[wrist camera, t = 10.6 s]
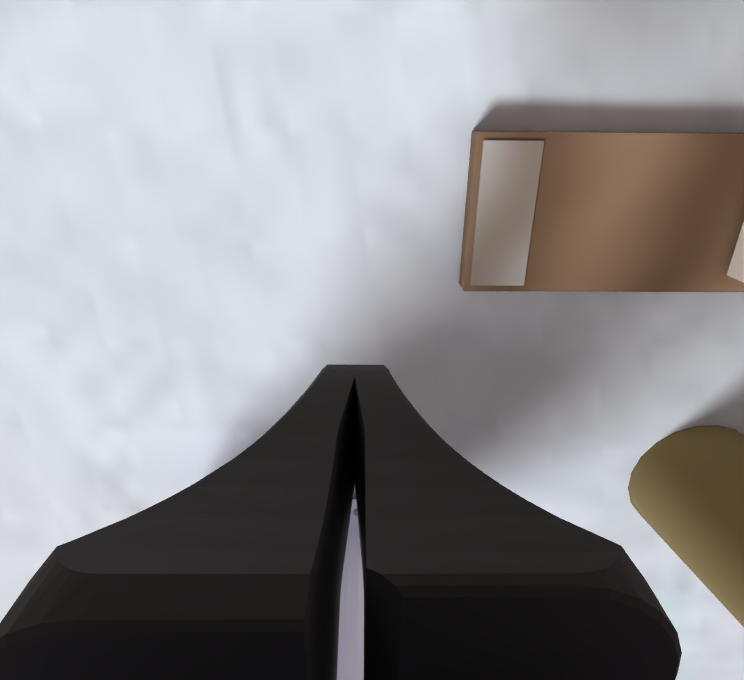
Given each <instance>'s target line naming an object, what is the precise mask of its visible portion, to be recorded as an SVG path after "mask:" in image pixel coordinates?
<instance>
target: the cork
mask: <svg viewBox="0 0 744 680" xmlns="http://www.w3.org/2000/svg"><path fill="white" fill-rule="evenodd" d="M628 490H629V495H630V500H631V503H632V505H633V506H634V507H635V509H636V510H637V511H638V513H639V514H640V515H641V516H642V517H643V518H644V519H645V520H646V522H647V523H648V524H649V525H650V526H651V527H652V528H653V529H654V530H655V531H656V532H657V534H658V535H659V536H660V537H661V538H662V539H663V540H664V541H665V542H666V543H667V544H668V545H669V547H670V548H671V549H672V550H673V551H674V552H675V553H676V554H677V555H678V556H679V557H680V558H681V560H682V561H683V562H684V563H685V564H686V565H687V566H688V567H689V568H690V569H691V570H692V572H693V573H694V574H695V575H696V576H697V577H698V578H699V579H700V580H701V581H702V582H703V583H704V585H705V586H706V587H707V588H708V589H709V590H710V591H711V592H712V593H713V594H714V595H715V596H716V598H717V599H718V600H719V601H720V602H721V603H722V604H723V605H724V606H725V607H726V608H727V609H728V611H729V612H730V613H731V614H732V615H733V616H734V617H735V618H736V619H737V620H738V621H739V623H740V624H741V625H742V626H743V627H744V435H742V434H741V433H739V432H738V431H736V430H733V429H729V428H725V427H721V426H697V427H693V428H690V429H686V430H683V431H680V432H676V433H674V434H672V435H670V436H669V437H667V438H665V439H663V440H661V441H660V442H658V443H656V444H655V445H654V446H653V447H652V448H651V449H650V450H649V451H647V452H646V453H645V454H644V455H643V456H642V457H641V458H640V460H639V462H638V463H637V465H636V466H635V468H634V470H633V471H632V473H631V478H630V482H629V487H628Z"/></svg>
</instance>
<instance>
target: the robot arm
mask: <svg viewBox="0 0 744 680" xmlns="http://www.w3.org/2000/svg"><path fill="white" fill-rule="evenodd" d="M354 485H355V491H356V499H353V493H354ZM355 509H357V510H355ZM681 654H682V652H681V648H680V643H679V638H678V634H677V631H676V630H675V628H674V626H673V625H672V623H671V621H670V620H669V618H668V616H667V615H666V613H665V611H664V610H663V608H662V606H661V605H660V603H659V601H658V599H657V598H656V596H655V594H654V593H653V591H652V590H651V588H650V586H649V585H648V583H647V582H646V580H645V578H644V577H643V576H642V574H641V573H640V572H639V570H638V569H637V567H636V566H635V565H634V563H633V562H632V561H631V559H630V558H629V556H628V555H627V554H626V552H625V551H624V549H623V548H622V546H620V545H618V544H616V543H614V542H612V541H609V540H607V539H605V538H603V537H600V536H598V535H596V534H594V533H592V532H589V531H587V530H585V529H583V528H581V527H578V526H576V525H574V524H572V523H570V522H567V521H565V520H563V519H561V518H559V517H557V516H555V515H553V514H551V513H549V512H547V511H545V510H544V509H542V508H540V507H538V506H536V505H535V504H533V503H531V502H529V501H527V500H525V499H524V498H522V497H520V496H519V495H517V494H515V493H514V492H512V491H510V490H509V489H507V488H505V487H504V486H502V485H501V484H499V483H498V482H496V481H495V480H493V479H492V478H491V477H489V476H488V475H486V474H485V473H483V472H482V471H480V470H479V469H478V468H476V467H475V466H474V465H472V464H471V463H470V462H468V461H467V460H466V459H464V458H463V457H462V456H461V455H460V454H459V453H457V452H456V451H455V450H454V449H453V448H451V447H450V446H449V445H448V444H447V443H446V442H445V441H444V440H443V439H442V438H441V437H440V436H439V435H438V434H437V433H436V432H435V431H434V430H433V429H432V428H431V427H430V426H429V425H428V424H427V423H426V421H425V420H424V419H423V418H422V417H421V416H420V415H419V413H418V412H417V411H416V410H415V408H414V407H413V406H412V404H411V403H410V402H409V401H408V399H407V398H406V397H405V395H404V394H403V393H402V391H401V390H400V388H399V387H398V385H397V384H396V382H395V380H394V379H393V377H392V375H391V374H390V372H389V370H388V369H387V368H386V367H385V366H384V365H326V366H325V367H324V368H323V369H322V370H321V372H320V373H319V375H318V376H317V377H316V379H315V380H314V381H313V383H312V384H311V385H310V386H309V388H308V389H307V390H306V391H305V393H304V394H303V395H302V396H301V397H300V398H299V399H298V401H297V402H296V403H295V404H294V405H293V406H292V407H291V409H290V410H289V411H288V412H287V413H286V414H285V415H284V416H283V417H282V418H281V419H280V420H279V421H278V422H277V423H276V424H275V425H274V426H273V427H272V428H270V429H269V430H268V431H267V432H266V433H265V434H264V435H263V436H262V437H261V438H260V439H258V440H257V441H256V442H255V443H254V444H252V445H251V446H250V447H249V448H247V449H246V450H245V451H243V452H242V453H241V454H239V455H238V456H237V457H235V458H234V459H232V460H231V461H229V462H228V463H226V464H225V465H223V466H222V467H220V468H218V469H217V470H215V471H214V472H212V473H211V474H209V475H207V476H206V477H204V478H203V479H201V480H200V481H198V482H196V483H195V484H193V485H191V486H190V487H188V488H186V489H184V490H182V491H180V492H179V493H177V494H175V495H173V496H171V497H169V498H167V499H165V500H163V501H161V502H159V503H157V504H155V505H153V506H151V507H149V508H147V509H145V510H143V511H141V512H139V513H137V514H135V515H133V516H130V517H128V518H126V519H124V520H121V521H119V522H116V523H114V524H112V525H109V526H107V527H104V528H102V529H100V530H97V531H95V532H92V533H90V534H88V535H85V536H83V537H80V538H78V539H75V540H73V541H70V542H68V543H65V544H62V545H60V546H57V547H56V548H55V550H54V551H53V552H52V553H51V555H50V556H49V557H48V558H47V560H46V561H45V562H44V563H43V565H42V566H41V567H40V568H39V570H38V571H37V572H36V573H35V575H34V576H33V577H32V578H31V580H30V581H29V583H28V584H27V585H26V587H25V588H24V590H23V591H22V593H21V594H20V596H19V597H18V598H17V600H16V601H15V603H14V604H13V606H12V607H11V608H10V610H9V611H8V613H7V614H6V616H5V617H4V618H3V620H2V621H1V623H0V680H675V678H676V676H677V673H678V668H679V663H680V659H681Z"/></svg>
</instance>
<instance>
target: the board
mask: <svg viewBox="0 0 744 680" xmlns="http://www.w3.org/2000/svg"><path fill="white" fill-rule="evenodd" d="M743 222H744V133H655V132H531V131H472V138H471V149H470V161H469V173H468V185H467V197H466V208H465V220H464V232H463V244H462V256H461V267H460V279H459V283H460V285H461V287H462V289H463V290H464V291H630V292H744V283H743V282H741V281H739V280H737V279H734V278H732V277H730V276H728V275H727V272H728V269H729V266H730V263H731V260H732V256H733V253H734V250H735V247H736V244H737V241H738V237H739V234H740V231H741V228H742V225H743Z"/></svg>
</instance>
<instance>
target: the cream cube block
mask: <svg viewBox="0 0 744 680" xmlns="http://www.w3.org/2000/svg"><path fill="white" fill-rule="evenodd" d="M727 275H728V276H730V277H732V278H734V279H737V280H739V281H741V282H743V283H744V222H743V225H742V228H741V231H740V234H739V237H738V241H737V244H736V247H735V250H734V253H733V256H732V260H731V263H730V266H729V269H728V272H727Z"/></svg>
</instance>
